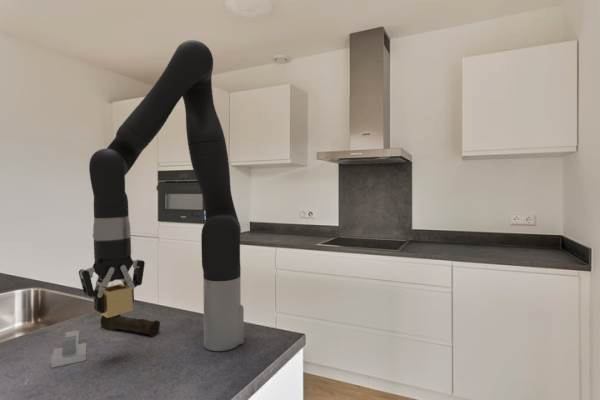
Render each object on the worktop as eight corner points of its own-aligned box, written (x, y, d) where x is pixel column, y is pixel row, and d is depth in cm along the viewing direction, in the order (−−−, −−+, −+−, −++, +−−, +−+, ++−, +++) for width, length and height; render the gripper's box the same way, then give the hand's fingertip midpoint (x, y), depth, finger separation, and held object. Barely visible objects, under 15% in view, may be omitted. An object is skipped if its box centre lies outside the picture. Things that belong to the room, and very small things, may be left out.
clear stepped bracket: (86, 333, 93) (86, 316, 93) (85, 360, 79) (85, 340, 78) (58, 338, 90) (57, 321, 90) (51, 367, 75) (50, 347, 75)
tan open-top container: (121, 305, 84) (121, 283, 83) (132, 310, 80) (132, 287, 80) (97, 312, 79) (96, 289, 79) (107, 318, 76) (106, 293, 75)
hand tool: (161, 333, 94) (161, 316, 94) (150, 338, 90) (150, 321, 90) (109, 324, 101) (109, 308, 100) (97, 329, 97) (97, 312, 97)
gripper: (84, 242, 71) (87, 322, 72) (150, 234, 82) (152, 303, 83) (70, 239, 76) (74, 314, 76) (135, 232, 87) (137, 297, 88)
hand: (115, 308), depth 80 cm, fingers closed on tan open-top container, 5 cm apart
